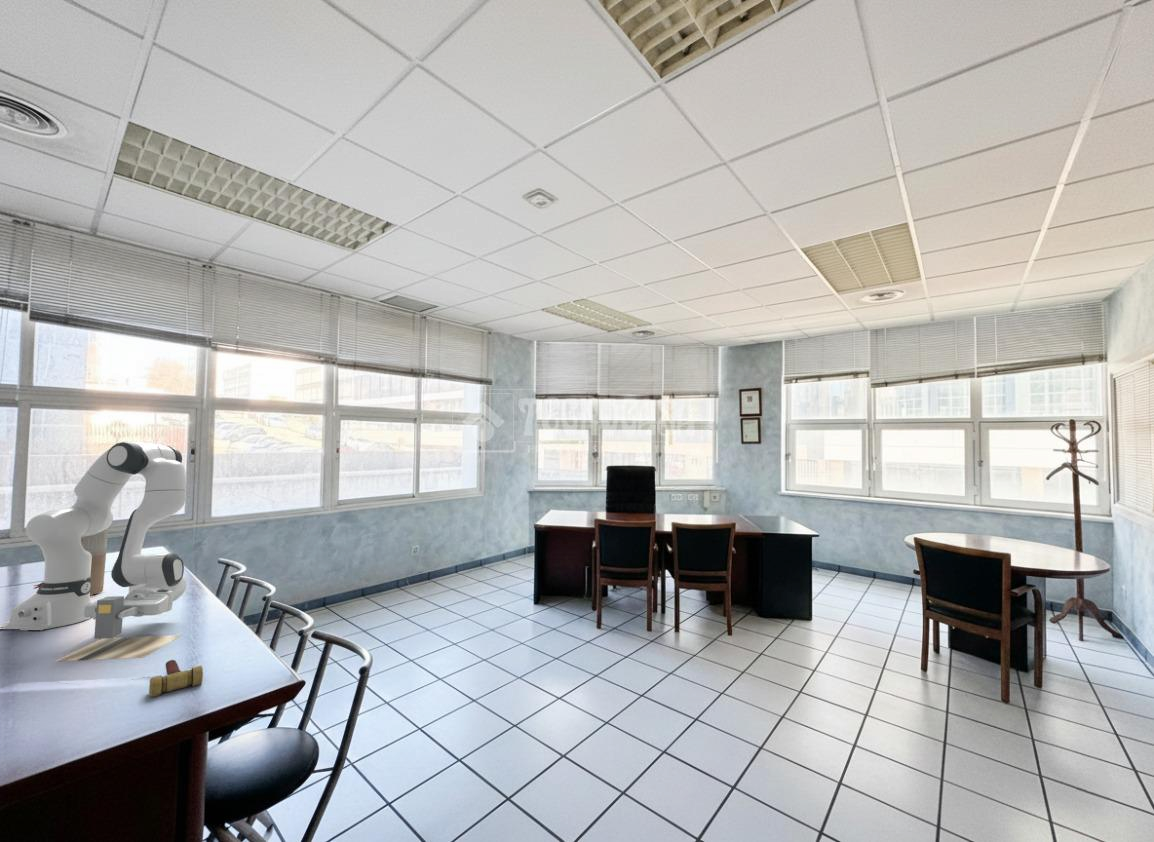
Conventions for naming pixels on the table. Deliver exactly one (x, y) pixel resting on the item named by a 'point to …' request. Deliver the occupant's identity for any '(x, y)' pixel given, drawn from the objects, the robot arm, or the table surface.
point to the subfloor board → (120, 648)
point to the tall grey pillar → (108, 617)
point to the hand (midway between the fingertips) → (107, 616)
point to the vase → (96, 558)
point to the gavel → (175, 679)
